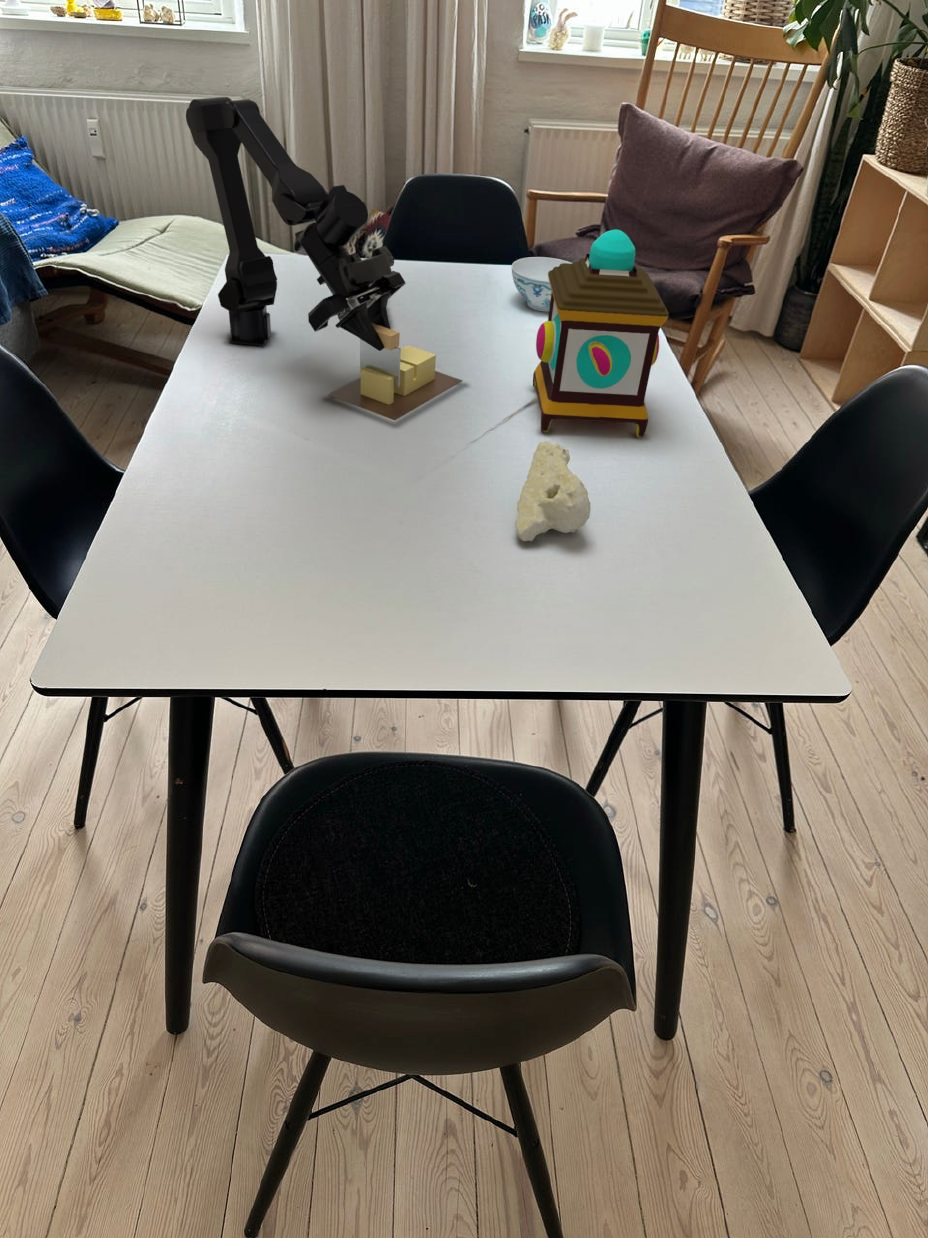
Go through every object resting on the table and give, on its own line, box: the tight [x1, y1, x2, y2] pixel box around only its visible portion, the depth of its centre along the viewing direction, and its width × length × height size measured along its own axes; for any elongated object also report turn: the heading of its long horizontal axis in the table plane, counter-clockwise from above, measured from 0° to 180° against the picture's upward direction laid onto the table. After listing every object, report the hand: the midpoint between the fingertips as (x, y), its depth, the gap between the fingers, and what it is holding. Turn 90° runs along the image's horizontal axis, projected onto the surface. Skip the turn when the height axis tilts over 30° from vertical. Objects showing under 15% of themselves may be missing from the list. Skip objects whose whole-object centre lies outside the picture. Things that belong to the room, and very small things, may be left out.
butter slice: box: [360, 367, 394, 405], centre depth 152 cm, size 6×1×4 cm, turn 56°
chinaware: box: [511, 256, 573, 313], centre depth 193 cm, size 15×15×8 cm
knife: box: [359, 323, 401, 387], centre depth 150 cm, size 8×2×9 cm, turn 56°
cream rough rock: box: [515, 441, 592, 542], centre depth 128 cm, size 15×7×15 cm
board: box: [327, 370, 464, 421], centre depth 158 cm, size 14×20×1 cm
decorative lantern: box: [532, 229, 670, 438], centre depth 148 cm, size 20×20×30 cm
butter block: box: [394, 344, 437, 396], centre depth 158 cm, size 6×9×4 cm, turn 146°
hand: (386, 347), depth 148 cm, fingers closed on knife, 2 cm apart
